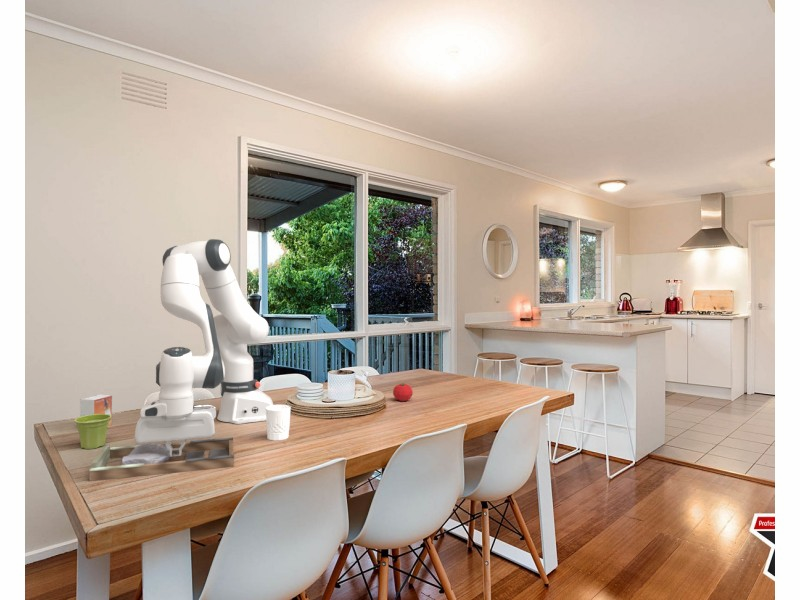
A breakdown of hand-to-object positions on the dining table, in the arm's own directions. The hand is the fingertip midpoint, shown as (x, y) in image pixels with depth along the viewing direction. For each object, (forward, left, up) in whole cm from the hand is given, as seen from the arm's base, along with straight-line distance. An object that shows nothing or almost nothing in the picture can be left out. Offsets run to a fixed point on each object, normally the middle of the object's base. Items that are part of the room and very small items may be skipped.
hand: (175, 455), depth 134 cm
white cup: (-29, -14, -2) cm, 32 cm away
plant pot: (+25, -21, -2) cm, 33 cm away
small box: (+29, -43, -2) cm, 52 cm away
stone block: (+7, -1, -2) cm, 7 cm away
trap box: (+2, 0, -2) cm, 2 cm away
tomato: (-87, -53, -2) cm, 102 cm away
